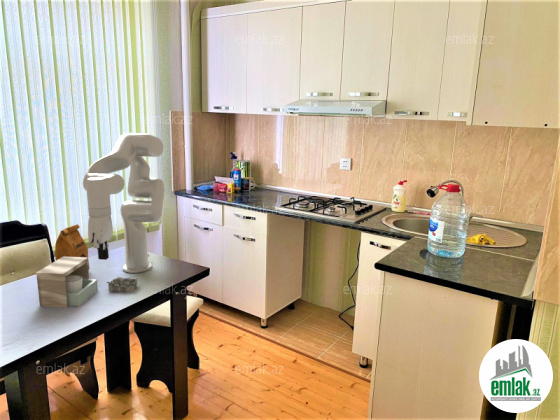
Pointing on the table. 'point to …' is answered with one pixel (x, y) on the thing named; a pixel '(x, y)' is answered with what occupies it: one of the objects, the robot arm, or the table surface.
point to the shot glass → (73, 283)
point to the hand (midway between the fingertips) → (103, 258)
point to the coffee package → (70, 244)
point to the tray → (82, 292)
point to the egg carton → (123, 284)
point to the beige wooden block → (59, 279)
